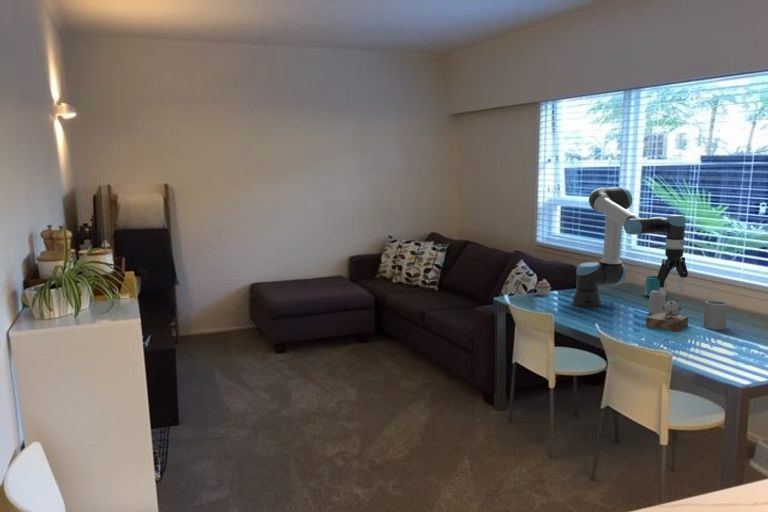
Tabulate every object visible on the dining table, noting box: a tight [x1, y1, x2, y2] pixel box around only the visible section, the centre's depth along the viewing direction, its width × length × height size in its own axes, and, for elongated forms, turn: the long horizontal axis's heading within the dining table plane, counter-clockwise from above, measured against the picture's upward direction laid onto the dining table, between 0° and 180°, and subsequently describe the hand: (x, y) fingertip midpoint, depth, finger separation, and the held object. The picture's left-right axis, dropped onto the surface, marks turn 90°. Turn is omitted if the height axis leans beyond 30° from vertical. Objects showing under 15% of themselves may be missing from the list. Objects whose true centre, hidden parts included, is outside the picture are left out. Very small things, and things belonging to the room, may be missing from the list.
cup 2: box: [703, 300, 728, 331], centre depth 279 cm, size 9×9×12 cm
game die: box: [662, 299, 682, 318], centre depth 283 cm, size 9×8×10 cm
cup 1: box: [644, 275, 668, 297], centre depth 347 cm, size 9×12×11 cm
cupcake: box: [535, 278, 552, 297], centre depth 355 cm, size 9×9×10 cm
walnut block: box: [645, 312, 689, 332], centre depth 284 cm, size 14×14×5 cm
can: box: [648, 290, 667, 315], centre depth 306 cm, size 8×8×12 cm
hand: (671, 292), depth 282 cm, fingers open, 13 cm apart
